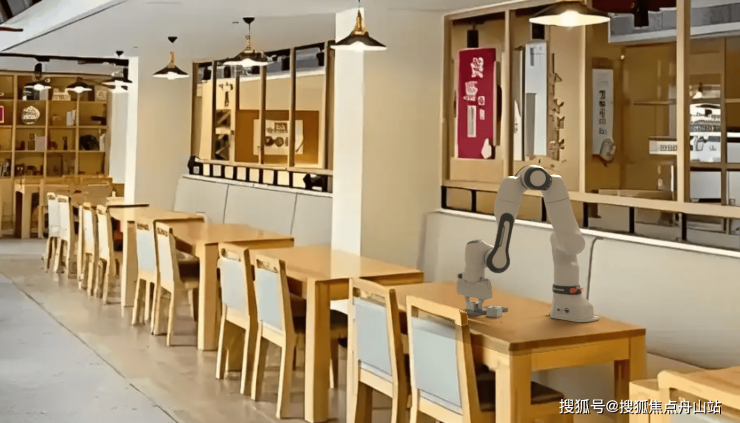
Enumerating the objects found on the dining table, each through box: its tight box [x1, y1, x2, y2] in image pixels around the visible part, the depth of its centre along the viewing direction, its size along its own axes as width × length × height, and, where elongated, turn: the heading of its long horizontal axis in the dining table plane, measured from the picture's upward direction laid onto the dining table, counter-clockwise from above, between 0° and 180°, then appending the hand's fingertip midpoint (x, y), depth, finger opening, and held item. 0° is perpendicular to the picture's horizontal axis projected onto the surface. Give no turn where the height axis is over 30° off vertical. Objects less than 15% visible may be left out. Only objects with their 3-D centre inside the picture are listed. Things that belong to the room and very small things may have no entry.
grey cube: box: [465, 300, 482, 312], centre depth 388 cm, size 5×5×5 cm
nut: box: [486, 305, 503, 318], centre depth 383 cm, size 5×5×5 cm
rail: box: [460, 304, 509, 317], centre depth 391 cm, size 8×22×3 cm, turn 125°
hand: (474, 307), depth 388 cm, fingers open, 6 cm apart
